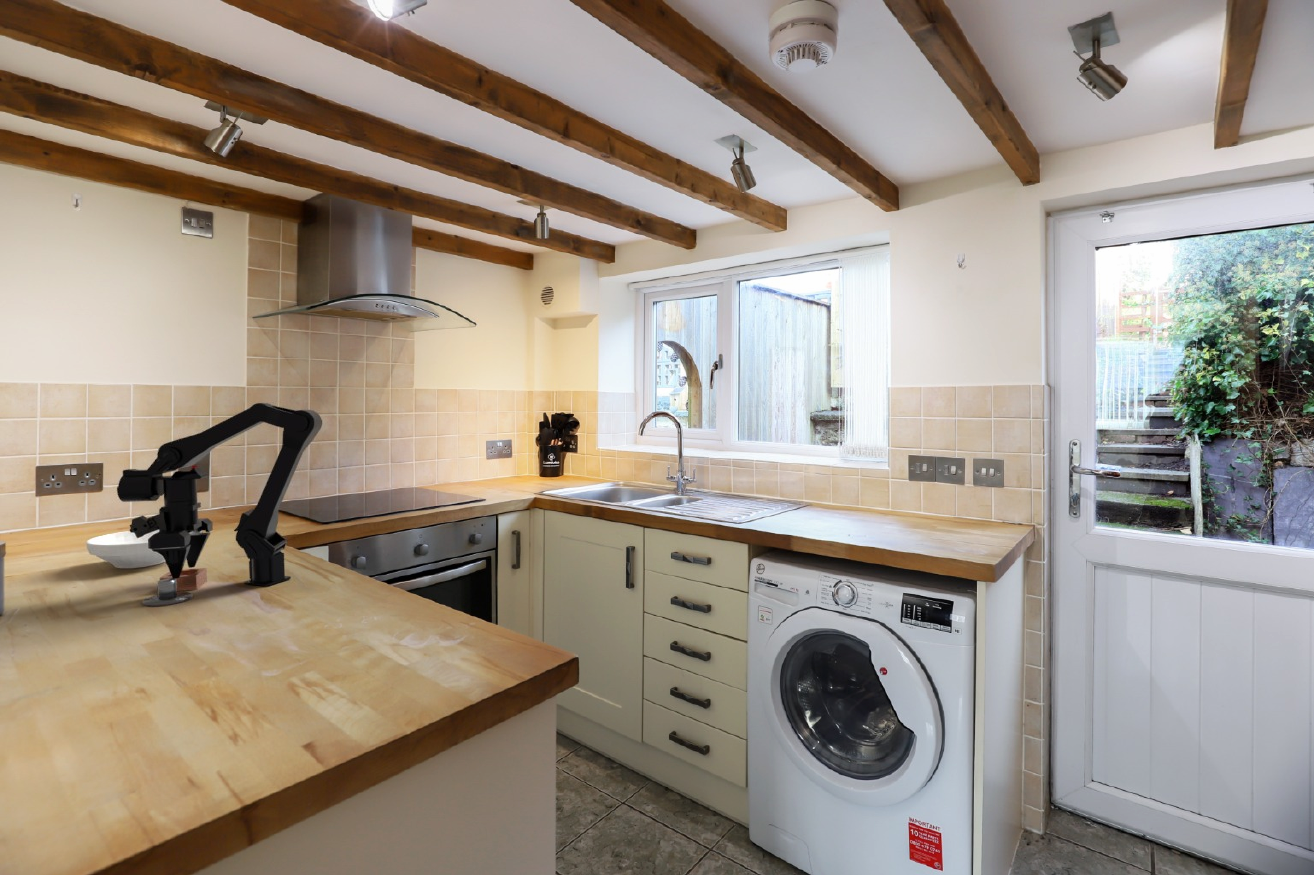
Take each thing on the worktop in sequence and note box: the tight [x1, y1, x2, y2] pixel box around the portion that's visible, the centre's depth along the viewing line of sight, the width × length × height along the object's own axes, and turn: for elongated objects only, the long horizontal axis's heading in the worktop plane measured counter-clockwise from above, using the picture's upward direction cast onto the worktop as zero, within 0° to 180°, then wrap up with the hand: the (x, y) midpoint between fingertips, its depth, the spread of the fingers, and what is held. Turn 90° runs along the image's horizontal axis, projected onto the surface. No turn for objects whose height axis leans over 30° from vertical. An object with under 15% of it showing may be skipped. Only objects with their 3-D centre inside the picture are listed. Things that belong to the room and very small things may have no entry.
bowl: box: [85, 530, 166, 569], centre depth 159 cm, size 20×20×7 cm
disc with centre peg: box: [142, 578, 194, 607], centre depth 131 cm, size 8×8×4 cm
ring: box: [159, 567, 208, 592], centre depth 140 cm, size 6×6×3 cm
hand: (184, 572), depth 140 cm, fingers open, 9 cm apart
